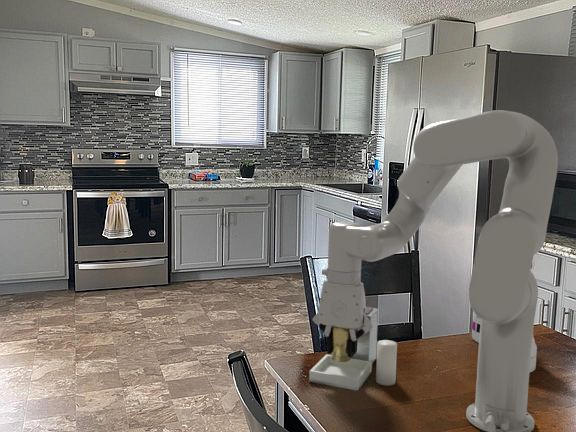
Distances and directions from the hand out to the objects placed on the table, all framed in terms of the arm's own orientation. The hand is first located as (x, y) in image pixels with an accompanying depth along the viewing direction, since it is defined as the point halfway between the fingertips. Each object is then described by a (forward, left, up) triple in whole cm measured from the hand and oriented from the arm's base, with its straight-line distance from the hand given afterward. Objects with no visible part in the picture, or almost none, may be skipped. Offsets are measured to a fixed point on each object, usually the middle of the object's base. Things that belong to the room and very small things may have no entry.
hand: (341, 352), depth 133 cm
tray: (0, 0, -6) cm, 6 cm away
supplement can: (+41, -29, -6) cm, 51 cm away
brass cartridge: (0, 0, -1) cm, 1 cm away
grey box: (+11, 0, -6) cm, 12 cm away
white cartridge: (+2, -10, -6) cm, 12 cm away
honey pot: (+26, -35, -6) cm, 44 cm away
